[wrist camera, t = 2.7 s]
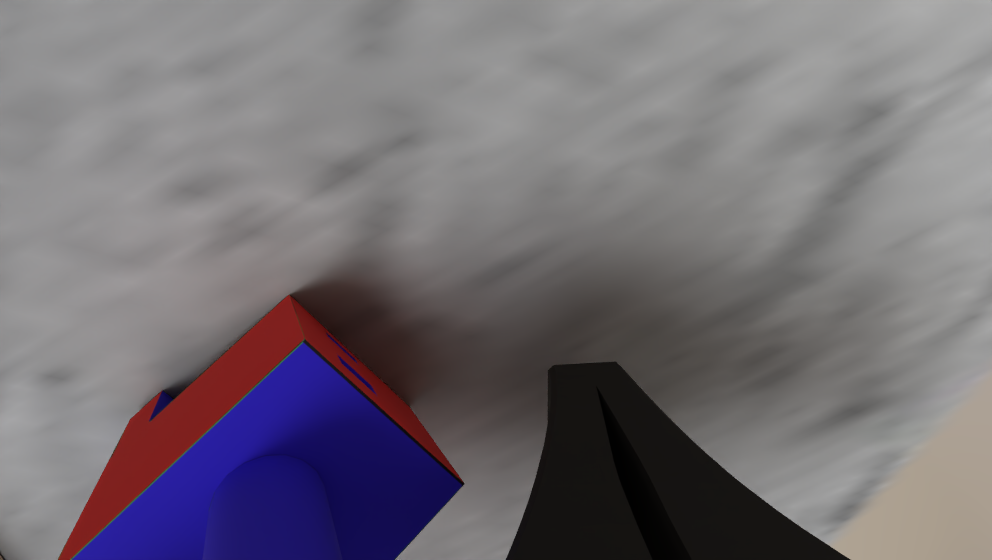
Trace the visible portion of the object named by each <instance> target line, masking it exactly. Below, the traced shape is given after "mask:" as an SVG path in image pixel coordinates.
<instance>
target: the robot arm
mask: <svg viewBox="0 0 992 560" xmlns="http://www.w3.org/2000/svg"><path fill="white" fill-rule="evenodd" d="M506 560H850V559H849V558H847V557H845V556H844V555H842V554H841V553H839V552H838V551H836V550H835V549H833V548H832V547H830V546H829V545H827V544H826V543H824V542H822V541H821V540H819V539H818V538H816V537H815V536H813V535H812V534H810V533H809V532H807V531H806V530H804V529H803V528H801V527H800V526H798V525H797V524H795V523H794V522H793V521H791V520H790V519H788V518H787V517H786V516H784V515H783V514H781V513H780V512H778V511H777V510H776V509H774V508H773V507H772V506H770V505H769V504H768V503H767V502H765V501H764V500H763V499H761V498H760V497H759V496H757V495H756V494H755V493H753V492H752V491H751V490H749V489H748V488H747V487H745V486H744V485H743V484H742V483H740V482H739V481H738V480H737V479H735V478H734V477H733V476H732V475H731V474H729V473H728V472H727V471H726V470H725V469H723V468H722V467H721V466H720V465H719V464H718V463H717V462H716V461H714V460H713V459H712V458H711V457H710V456H709V455H708V454H706V453H705V452H704V451H703V450H702V449H701V448H700V447H699V446H698V445H697V444H696V443H694V442H693V441H692V440H691V439H690V438H689V437H688V436H687V435H686V434H685V433H684V432H683V431H682V430H681V429H680V428H679V427H678V426H677V425H676V424H675V423H674V422H673V421H672V420H671V419H670V418H669V417H668V416H667V415H666V414H665V413H664V412H663V411H662V410H661V409H660V408H659V407H658V406H657V405H656V404H655V403H654V402H653V401H652V400H651V399H650V398H649V397H648V396H647V394H646V393H645V392H644V391H643V390H642V389H641V388H640V387H639V386H638V385H637V384H636V383H635V381H634V380H633V379H632V378H631V377H630V376H629V375H628V374H627V373H626V371H625V370H624V369H623V368H622V367H621V366H620V365H619V364H618V363H617V362H603V363H585V364H567V365H554V366H552V367H551V368H550V369H549V370H548V425H547V431H546V437H545V442H544V447H543V451H542V455H541V459H540V463H539V467H538V471H537V475H536V478H535V482H534V485H533V488H532V491H531V495H530V498H529V501H528V504H527V507H526V509H525V512H524V515H523V518H522V521H521V523H520V526H519V529H518V531H517V534H516V536H515V539H514V541H513V544H512V546H511V549H510V551H509V554H508V556H507V558H506Z"/></svg>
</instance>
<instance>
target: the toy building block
mask: <svg viewBox="0 0 992 560" xmlns="http://www.w3.org/2000/svg"><path fill="white" fill-rule="evenodd" d="M463 485H464V482H463V481H462V479H461V478H460V477H459V475H458V474H457V472H456V471H455V470H454V468H453V467H452V465H451V464H450V463H449V461H448V460H447V458H446V457H445V456H444V454H443V453H442V452H441V450H440V449H439V447H438V446H437V445H436V443H435V442H434V440H433V439H432V438H431V436H430V435H429V433H428V432H427V431H426V429H425V428H424V426H423V425H422V424H421V422H420V421H419V420H418V418H417V417H416V415H415V414H414V413H413V411H412V410H411V408H410V407H409V406H408V405H407V404H406V403H405V402H404V401H403V400H402V399H400V398H399V397H398V396H397V395H396V394H395V393H394V392H393V391H392V390H391V389H390V388H389V387H388V386H387V385H385V384H384V383H383V382H382V381H381V380H380V379H379V378H378V377H377V376H376V375H375V374H374V373H373V372H372V371H370V370H369V369H368V368H367V367H366V366H365V365H364V364H363V363H362V362H361V361H360V360H359V359H358V358H357V357H355V356H354V355H353V354H352V353H351V352H350V351H349V350H348V349H347V348H346V347H345V346H344V345H343V344H342V343H341V342H339V341H338V340H337V339H336V338H335V337H334V336H333V335H332V334H331V333H330V332H329V331H328V330H327V329H326V328H324V327H323V326H322V325H321V324H320V323H319V322H318V321H317V320H316V319H315V318H314V317H313V316H312V315H311V314H309V313H308V312H307V311H306V310H305V309H304V308H303V307H302V306H301V305H300V304H299V303H298V302H297V301H296V300H294V299H293V298H292V297H291V296H290V295H288V296H287V297H286V298H285V299H283V300H282V301H281V302H280V303H279V304H278V305H277V306H276V307H275V308H274V309H272V310H271V311H270V312H269V313H268V314H267V315H266V316H265V317H264V318H263V319H261V320H260V321H259V322H258V323H257V324H256V325H255V326H254V327H253V328H252V329H250V330H249V331H248V332H247V333H246V334H245V335H244V336H243V337H242V338H241V339H239V340H238V341H237V342H236V343H235V344H234V345H233V346H232V347H231V348H230V349H229V350H227V351H226V352H225V353H224V354H223V355H222V356H221V357H220V358H219V359H218V360H216V361H215V362H214V363H213V364H212V365H211V366H210V367H209V368H208V369H207V370H205V371H204V372H203V373H202V374H201V375H200V376H199V377H198V378H197V379H196V380H194V381H193V382H192V383H191V384H190V385H189V386H188V387H187V388H186V389H185V390H183V391H182V392H181V393H180V394H179V395H178V396H177V397H176V398H175V399H173V398H172V397H170V396H169V395H168V394H166V393H165V392H164V391H161V392H160V393H159V394H158V395H157V396H155V397H154V398H153V399H152V400H151V401H150V402H149V403H148V404H147V405H145V406H144V407H143V408H142V409H141V410H140V411H139V412H138V413H137V414H136V415H134V416H133V417H132V418H131V419H130V421H129V423H128V425H127V427H126V429H125V430H124V432H123V434H122V436H121V438H120V440H119V442H118V444H117V446H116V448H115V450H114V452H113V454H112V456H111V458H110V459H109V461H108V463H107V465H106V467H105V469H104V471H103V473H102V475H101V477H100V479H99V481H98V483H97V485H96V487H95V488H94V490H93V492H92V494H91V496H90V498H89V500H88V502H87V504H86V506H85V508H84V510H83V512H82V514H81V516H80V517H79V519H78V521H77V523H76V525H75V527H74V529H73V531H72V533H71V535H70V537H69V539H68V541H67V543H66V545H65V546H64V548H63V550H62V552H61V554H60V556H59V558H58V560H395V559H396V558H397V557H398V556H399V555H400V553H401V552H402V551H403V550H404V549H405V548H406V547H407V546H408V545H409V544H410V543H411V542H412V540H413V539H414V538H415V537H416V536H417V535H418V534H419V533H420V532H421V531H422V530H423V529H424V527H425V526H426V525H427V524H428V523H429V522H430V521H431V520H432V519H433V518H434V517H435V515H436V514H437V513H438V512H439V511H440V510H441V509H442V508H443V507H444V506H445V505H446V504H447V502H448V501H449V500H450V499H451V498H452V497H453V496H454V495H455V494H456V493H457V492H458V491H459V489H460V488H461V487H462V486H463Z"/></svg>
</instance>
